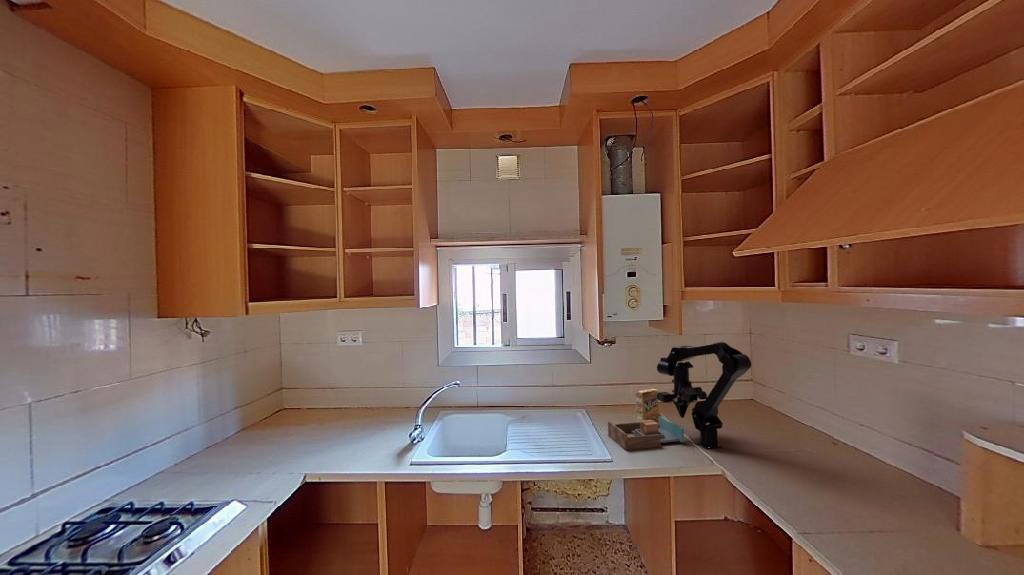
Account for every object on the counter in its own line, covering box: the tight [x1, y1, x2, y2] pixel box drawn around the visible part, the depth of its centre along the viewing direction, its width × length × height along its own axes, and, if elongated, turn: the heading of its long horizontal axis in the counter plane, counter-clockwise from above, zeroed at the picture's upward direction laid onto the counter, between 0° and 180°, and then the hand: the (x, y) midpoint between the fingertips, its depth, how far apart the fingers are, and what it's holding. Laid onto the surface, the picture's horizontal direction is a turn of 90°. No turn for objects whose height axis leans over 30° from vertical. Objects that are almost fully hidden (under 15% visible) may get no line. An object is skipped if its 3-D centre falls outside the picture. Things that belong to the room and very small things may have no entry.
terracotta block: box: [640, 420, 659, 435], centre depth 179 cm, size 5×5×5 cm
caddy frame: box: [607, 421, 662, 451], centre depth 178 cm, size 16×14×6 cm
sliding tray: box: [631, 415, 685, 444], centre depth 179 cm, size 16×14×5 cm
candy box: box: [635, 388, 660, 427], centre depth 195 cm, size 9×4×15 cm, turn 116°
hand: (682, 417), depth 182 cm, fingers closed
